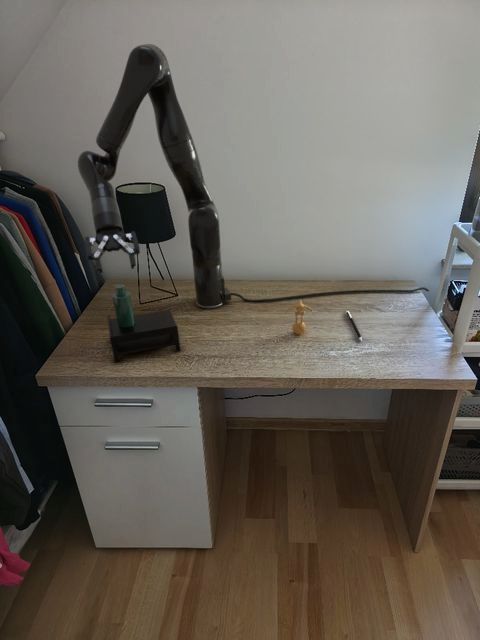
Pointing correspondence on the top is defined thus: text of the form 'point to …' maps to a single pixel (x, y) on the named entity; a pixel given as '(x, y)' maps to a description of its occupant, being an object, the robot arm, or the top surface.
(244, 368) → the top surface
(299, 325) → the figurine
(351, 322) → the pen
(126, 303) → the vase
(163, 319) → the black rectangular case
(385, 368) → the top surface
